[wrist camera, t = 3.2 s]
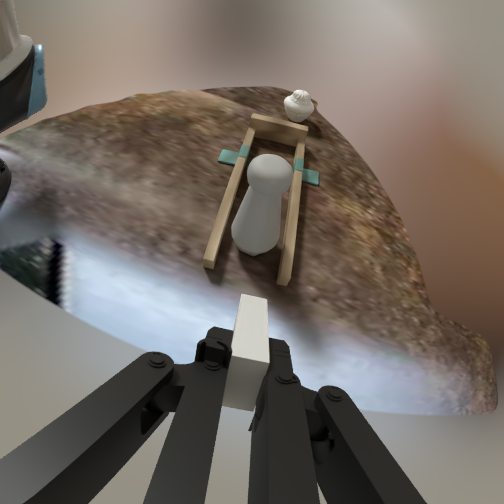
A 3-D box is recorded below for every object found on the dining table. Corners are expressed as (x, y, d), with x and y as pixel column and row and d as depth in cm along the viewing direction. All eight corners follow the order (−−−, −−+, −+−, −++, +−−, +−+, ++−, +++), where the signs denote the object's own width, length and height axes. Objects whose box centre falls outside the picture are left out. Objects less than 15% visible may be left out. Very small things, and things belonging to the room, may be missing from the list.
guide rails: (178, 260, 33) (175, 242, 29) (233, 127, 48) (235, 110, 45) (310, 291, 33) (322, 276, 30) (318, 148, 49) (324, 131, 45)
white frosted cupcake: (311, 117, 55) (320, 90, 49) (306, 130, 52) (315, 101, 46) (284, 108, 55) (291, 81, 49) (277, 119, 52) (284, 90, 46)
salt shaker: (283, 252, 36) (316, 178, 25) (243, 269, 34) (262, 194, 23) (260, 218, 38) (281, 140, 27) (221, 232, 36) (230, 152, 25)
